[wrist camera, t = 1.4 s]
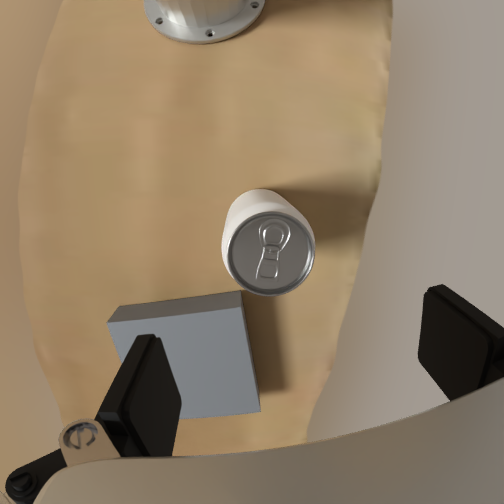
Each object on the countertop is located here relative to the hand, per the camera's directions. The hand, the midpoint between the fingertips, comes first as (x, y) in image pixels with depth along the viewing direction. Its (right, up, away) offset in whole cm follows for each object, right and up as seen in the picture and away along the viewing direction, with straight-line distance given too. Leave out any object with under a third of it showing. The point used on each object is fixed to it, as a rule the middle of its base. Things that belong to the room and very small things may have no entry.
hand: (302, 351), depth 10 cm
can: (-1, +6, +22) cm, 23 cm away
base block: (-9, -8, +25) cm, 28 cm away
